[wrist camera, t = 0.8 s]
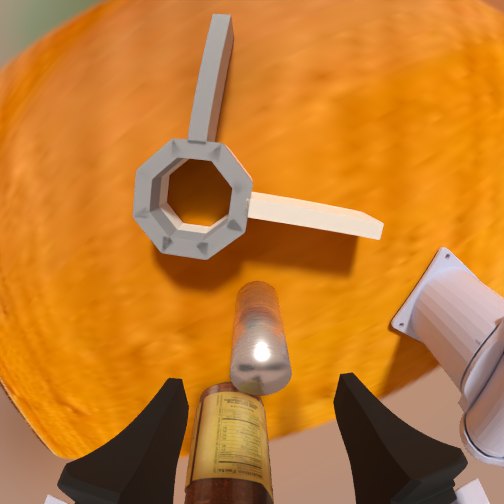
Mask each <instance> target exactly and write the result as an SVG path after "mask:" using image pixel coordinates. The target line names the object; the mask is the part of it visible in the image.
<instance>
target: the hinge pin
mask: <svg viewBox="0 0 504 504" xmlns="http://www.w3.org/2000/svg"><path fill="white" fill-rule="evenodd" d="M291 374H292V373H291V366H290V361H289V355H288V349H287V344H286V339H285V333H284V328H283V322H282V317H281V312H280V306H279V301H278V296H277V293H276V291H275V289H274V288H273V287H272V286H271V285H269V284H268V283H265V282H262V281H253V282H250V283H247V284H245V285H244V286H243V287H242V288H241V289H240V290H239V292H238V294H237V299H236V310H235V322H234V333H233V345H232V357H231V369H230V378H231V381H232V383H233V384H234V386H235V387H236V388H237V389H239V390H240V391H242V392H244V393H247V394H251V395H269V394H273V393H275V392H278V391H279V390H281V389H283V388H284V387H285V386H286V385H287V384H288V383H289V381H290V379H291Z"/></svg>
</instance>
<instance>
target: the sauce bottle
mask: <svg viewBox="0 0 504 504" xmlns="http://www.w3.org/2000/svg"><path fill="white" fill-rule="evenodd" d="M185 493H186V496H185V503H184V504H274V501H273V489H272V479H271V467H270V458H269V446H268V435H267V424H266V413H265V409H264V405H263V403H262V400H261V398H260V396H259V395H251V394H247V393H244V392H242V391H240V390H239V389H237V388H236V387H235V386H234V384H233V383H229V382H224V383H221V384H217V385H214V386H212V387H210V388H208V389H206V390H205V391H204V392H203V393H202V395H201V397H200V402H199V405H198V407H197V410H196V416H195V421H194V428H193V434H192V441H191V448H190V455H189V462H188V469H187V476H186V485H185Z"/></svg>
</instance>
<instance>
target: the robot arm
mask: <svg viewBox="0 0 504 504" xmlns="http://www.w3.org/2000/svg"><path fill="white" fill-rule="evenodd" d="M446 255H447V257H446ZM445 257H446V258H445ZM401 323H402V324H401ZM400 324H401V325H400ZM391 325H392V327H393V328H395V329H397V330H399V331H401V332H403V333H405V334H407V335H408V336H410V337H412V338H414V339H416V340H418V341H420V342H422V343H424V344H425V346H426V347H427V348H428V349H429V351H430V352H431V353H432V355H433V356H434V357H435V358H436V360H437V361H438V362H439V364H440V365H441V366H442V368H443V369H444V370H445V372H446V373H447V374H448V376H449V377H450V378H451V380H452V381H453V382H454V384H455V385H456V387H457V388H458V389H459V390H460V392H461V394H462V396H461V399H460V400H459V402H458V403H459V405H460V406H461V408H462V410H463V411H464V414H463V415H462V418H461V421H460V436H461V439H462V442H463V444H464V446H465V448H466V449H467V451H468V452H469V453H470V454H471V455H472V456H473V457H474V458H475V459H477V460H479V461H481V462H483V463H486V464H492V465H498V466H501V467H504V298H503V297H501V296H500V295H499V294H497V293H496V292H495V291H493V290H492V289H490V288H489V287H488V286H486V285H485V284H483V283H482V282H481V281H480V280H479V279H478V278H477V277H476V276H475V275H474V274H473V273H472V272H471V271H470V270H469V269H468V268H467V267H466V266H465V265H464V264H463V263H462V262H461V261H460V260H459V259H458V258H457V257H456V256H455V255H454V254H453V253H451V252H450V251H449V250H448V249H447V248H445V247H441V248H440V249H439V251H438V252H437V254H436V256H435V258H434V259H433V261H432V262H431V264H430V266H429V267H428V269H427V270H426V272H425V274H424V275H423V277H422V278H421V280H420V281H419V283H418V284H417V286H416V287H415V289H414V290H413V292H412V293H411V295H410V296H409V298H408V299H407V300H406V302H405V303H404V305H403V306H402V307H401V309H400V310H399V311H398V313H397V314H396V316H395V317H394V318H393V320H392V321H391ZM333 403H334V409H335V414H336V419H337V423H338V426H339V429H340V432H341V435H342V438H343V441H344V444H345V447H346V450H347V453H348V457H349V460H350V464H351V470H352V476H353V482H354V489H355V496H356V504H490V503H489V501H488V499H487V497H486V494H485V492H484V490H483V488H482V486H481V484H480V482H479V480H478V478H476V479H474V480H472V481H471V482H469V483H467V484H465V485H464V486H462V487H461V488H459V489H457V490H456V491H454V490H453V487H454V486H455V482H454V480H453V479H454V478H455V477H456V476H458V475H459V474H460V473H461V472H462V471H463V470H464V469H465V468H466V466H467V464H468V462H467V459H466V457H465V456H464V454H463V452H462V450H461V449H460V448H457V447H454V446H451V445H448V444H445V443H442V442H440V441H437V440H435V439H433V438H431V437H429V436H427V435H425V434H423V433H421V432H419V431H418V430H416V429H414V428H413V427H411V426H409V425H408V424H407V423H405V422H404V421H402V420H401V419H400V418H398V417H397V416H396V415H395V414H393V413H392V412H391V411H390V410H389V409H388V408H386V407H385V406H384V405H383V404H382V403H381V402H380V401H379V400H378V399H377V398H376V397H375V396H374V395H373V394H372V393H371V392H370V391H369V390H368V389H367V388H366V387H365V385H364V384H363V383H362V382H361V381H360V380H359V379H358V378H357V377H356V376H355V374H354V373H346V374H340V377H339V382H338V386H337V390H336V394H335V398H334V402H333ZM188 410H189V405H188V402H187V398H186V394H185V390H184V386H183V382H182V379H176V378H169V379H167V381H166V382H165V383H164V385H163V386H162V387H161V389H160V390H159V391H158V393H157V394H156V395H155V397H154V398H153V399H152V400H151V401H150V403H149V404H148V405H147V406H146V407H145V409H144V410H143V411H142V412H141V413H140V414H139V415H138V416H137V417H136V418H135V419H134V420H133V421H132V422H131V423H130V424H129V425H128V426H127V427H126V428H125V429H124V430H123V431H122V432H120V433H119V434H118V435H117V436H115V437H114V438H113V439H111V440H110V441H109V442H107V443H106V444H104V445H103V446H101V447H100V448H98V449H96V450H95V451H93V452H91V453H89V454H88V455H86V456H84V457H81V458H79V459H77V460H75V461H72V462H70V463H67V464H66V465H65V467H64V469H63V471H62V474H61V476H60V479H59V481H58V484H57V486H58V487H59V489H60V490H61V491H62V492H64V493H65V494H66V495H67V496H69V497H70V498H71V499H72V500H74V501H75V504H173V496H174V484H175V475H176V467H177V462H178V458H179V454H180V450H181V446H182V442H183V438H184V434H185V430H186V426H187V419H188ZM44 504H69V503H67V502H65V501H63V500H60V499H58V498H56V497H54V496H52V495H50V494H49V495H48V496H47V498H46V501H45V503H44Z"/></svg>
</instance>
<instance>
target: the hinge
mask: <svg viewBox="0 0 504 504" xmlns="http://www.w3.org/2000/svg"><path fill="white" fill-rule="evenodd" d="M233 41H234V33H233V26H232V19H231V15H224V14H213V17H212V20H211V24H210V28H209V32H208V36H207V41H206V45H205V49H204V54H203V58H202V63H201V67H200V72H199V77H198V82H197V87H196V92H195V98H194V103H193V109H192V115H191V121H190V127H189V134H188V140H187V139H174V138H173V139H171V140H170V141H169V142H168V143H166V144H165V145H164V146H163V147H162V148H161V149H159V150H158V151H157V152H156V153H155V154H154V155H153V156H151V157H150V158H149V159H148V160H147V161H146V162H145V163H144V164H143V165H141V166H140V167H139V168H138V169H137V171H136V179H135V191H134V206H133V218H134V219H135V221H136V222H137V223H138V224H139V226H140V227H141V228H142V229H143V231H144V232H145V233H146V234H147V236H148V237H149V238H150V239H151V241H152V242H153V243H154V244H155V246H156V247H157V248H158V249H159V251H160V252H161V253H164V254H170V255H177V256H183V257H190V258H197V259H204V260H208V259H209V258H210V257H212V256H213V255H215V254H216V253H217V252H219V251H220V250H221V249H223V248H224V247H226V246H227V245H228V244H230V243H231V242H233V241H234V240H235V239H237V238H238V237H239V236H241V235H242V234H244V233H245V230H246V224H247V217H248V218H254V219H261V220H267V221H274V222H280V223H286V224H293V225H299V226H305V227H311V228H317V229H323V230H328V231H334V232H340V233H345V234H351V235H356V236H362V237H367V238H372V239H378V240H380V237H381V233H382V229H383V225H384V223H382V222H380V221H378V220H376V219H375V218H373V217H371V216H369V215H367V214H365V213H363V212H360V211H355V210H351V209H346V208H341V207H336V206H331V205H326V204H321V203H315V202H310V201H304V200H299V199H293V198H287V197H282V196H276V195H269V194H263V193H257V192H252V185H253V182H252V178H251V177H250V175H249V174H248V173H247V171H246V170H245V169H244V167H243V166H242V165H241V163H240V162H239V161H238V159H237V158H236V157H235V156H234V154H233V153H232V152H231V150H230V149H229V148H228V147H227V146H226V145H224V144H222V143H217V142H215V139H216V133H217V126H218V120H219V114H220V109H221V103H222V97H223V92H224V86H225V81H226V76H227V70H228V65H229V60H230V55H231V50H232V46H233ZM189 159H198V160H207V161H212V162H213V164H214V165H215V166H216V168H217V169H218V170H219V172H220V173H221V174H222V175H223V177H224V178H225V179H226V181H227V182H228V183H229V185H230V186H231V187H232V195H231V202H230V209H229V213H228V214H226V215H225V216H224V217H222V218H221V219H220V220H218V221H217V222H216V223H214V224H213V225H212V226H210V227H208V226H201V225H193V224H186V223H183V222H182V221H181V219H180V218H179V217H178V216H177V214H176V213H175V212H174V211H173V209H172V208H171V207H170V205H169V204H168V203H167V195H168V186H169V176H170V174H172V173H173V172H174V171H175V170H176V169H178V168H179V167H180V166H181V165H182V164H184V163H185V162H186V161H187V160H189Z"/></svg>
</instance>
